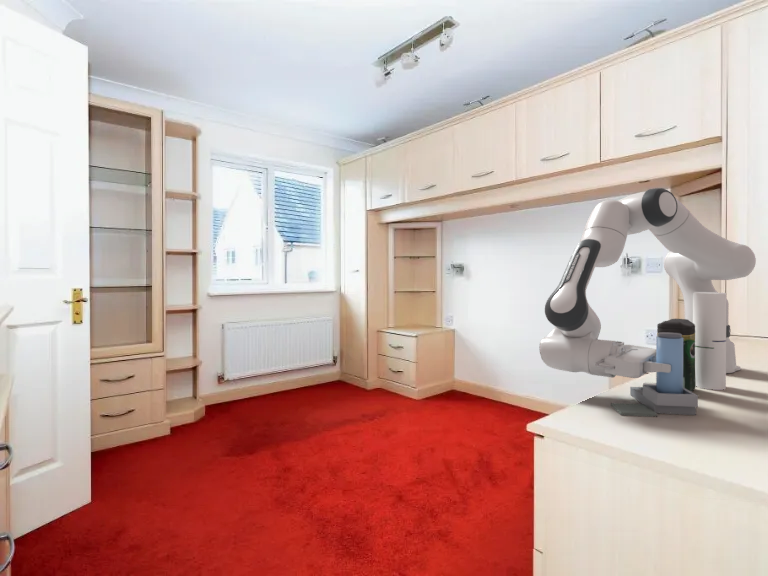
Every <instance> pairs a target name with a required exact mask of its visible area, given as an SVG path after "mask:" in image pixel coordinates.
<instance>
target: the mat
mask: <svg viewBox="0 0 768 576" xmlns="http://www.w3.org/2000/svg"><path fill="white" fill-rule="evenodd" d="M610 406H611V407H612V408H613V409H614V410H615V411H616V413H617V412H618V414H619V415H620V416H631V417H632V416H635V417H653V416H657V417H658V413H655V412H654V411H652V410H651V409H650V408H648V407H647V406H646V405H644V404H642V403H624V402H623V403H619V402H611V403H610Z"/></svg>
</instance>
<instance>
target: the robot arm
mask: <svg viewBox="0 0 768 576" xmlns="http://www.w3.org/2000/svg"><path fill="white" fill-rule="evenodd" d="M647 230H649V232H651V234H653V236H654V237H655V239H657V240H658V241H659V242H660V243H661V245H662V246H664V248H665V249H667V251H668V252H667V254H666V256H665V257H664V259H663V267H664V270H665V272H666V275H668V276H669V277H671V278H672V279H673V280H674V281H675V282H676V284H677V285H678V288H679V290H680V292H681V294H682V298H683V305H684V306H683V307H684V319H687V320H689V321H690V322H692V323H693V293H702V292H708V293H719V292H718V291H717V290H716V289H715V287H714V286H713V283H712V281H730V280H735V279H737V280H738V279H741V278H746V277H747V276H749V275H750V274H751V273H752V272H753V271H754V269H755V267H756V265H757V264H756V261H757V258H756V254H755V253H754V251H753V250H752V248H750V246H748V245H746V244H740V243H737V242H734V241H732V240H729V239H726V238H724V237H722V236H721V235H719V234H716V233H715V232H714V231H711V230H710V229H708V228H707V227H705V226H704V225H703V224H702V223H701V222H700V221H699V220H698V219H697V218H696V217H695V216H694V215H693V214H692V213H691V211H690V210H689V209H688V208H687V207H686V206H685V204H683V203H682V202H681V201H680V200H679V199H678V198H676V197H675V195H674V194H673V193H672V191H669V190H668V189H666V188H663V187H657V188H656V187H655V188H650V189H647V190H646V191H641V192H636V193H633V194H629V195H627V196H625V197H623V198H620V199H618V200H616V199H615V200H614V199H607V200H603V201H601V202H599V203H597V204H596V205H595V207H594V208H593V209H592V211H591V213H590V215H589V217H588V219H587V221H586V224H585V225H584V228H583V230H582V233H581V234H582V235H581V238H580V240H579V243H577V245H576V246H575V248H574V250H573V252H572V254H571V256H570V258H569V260H568V263H567V265H566V268H565V270H564V272H563V274H562V277H561V279H560V282H559V284H558V285H557V287H556V288H555V289H554V290H553V292H552V293H551V294H550V295H549V297H548V298H547V300H546V302H545V305H544V314H545V317H546V319H547V321H548V322H549V323H550V324H551V325H553V326H554V328H553V329H552V330H551V331H550V332H549V333H548V334H547V335H546V336H544V337H542V338H541V339H540V342H539V354H540V358H541V360H542V362H543V363H544V364H545V365H546V366H547V367H549V368H551V369H554V370H558V371H562V372H564V371H565V372H569V373H586V374H589V375H592V376H597V377H603V378H604V377H605V378H615V377H616V376H618V377H623V378H629V379H631V378H632V379H639V378H641V377H642V376H644V375H645V374H646V373H656V372H666V373H669V372H671V371H672V365H671V364H669V363H656V348H652V347H646V346H640V345H635V344H625V342H624V341H618V340H617V341H616V340H609V339H598V338H599V335H600V334H601V333H600V332H601V328H602V327H601V326H602V324H601V321H600V318H599V316H598V315H597V313H596V312H595V310H594V309H593V308H592V306H591V305H590V304H589V302H588V298H587V293H586V292H587V288H588V286H589V283H590V281H591V279H592V277H593V276H592V275H593V273H594V270H595V268H607V267H610V266H612V265H615V264H616V263H617V262H619V259H620V258H621V255H622V253H624V248H625V246H626V241H627V237H628V236H629V235H634V234H635V235H636V234H639V233H642V232H644V231H647ZM729 310H730V309H729V300H728V299H727V298H726V374H731V373H735V372H737V371H741V366H739V365H737V360H736V357H737V356H736V347H735V345H736V344H735V343H734V342H733V341H732V340H731V339H730V337H731V325H730V324H729Z"/></svg>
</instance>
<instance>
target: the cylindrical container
mask: <svg viewBox="0 0 768 576" xmlns="http://www.w3.org/2000/svg"><path fill="white" fill-rule="evenodd" d="M726 299H727V292H718V293H708V292H702V293H693V323H694V324H695V380H696V386H697V387H696V388H698V387H700V388H699V389H703V388H705V390H710V389H713V391H721V390H723V389H724V390H726V389H727V387H726V386H727V384H726V383H727V373H726Z"/></svg>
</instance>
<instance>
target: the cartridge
mask: <svg viewBox="0 0 768 576" xmlns="http://www.w3.org/2000/svg"><path fill="white" fill-rule="evenodd" d="M657 333H658V332H657ZM655 341H656V344H655V346H656V347H655V349H656V363H669V364H671V365H672V371H671V372H669V373H666V372H655V374H656V378H655V379H656V380H655V383H656V392H658V393H670V394H683V338H682V334H679V333H669V332H661V333H658V336H657V335H656V340H655Z"/></svg>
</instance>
